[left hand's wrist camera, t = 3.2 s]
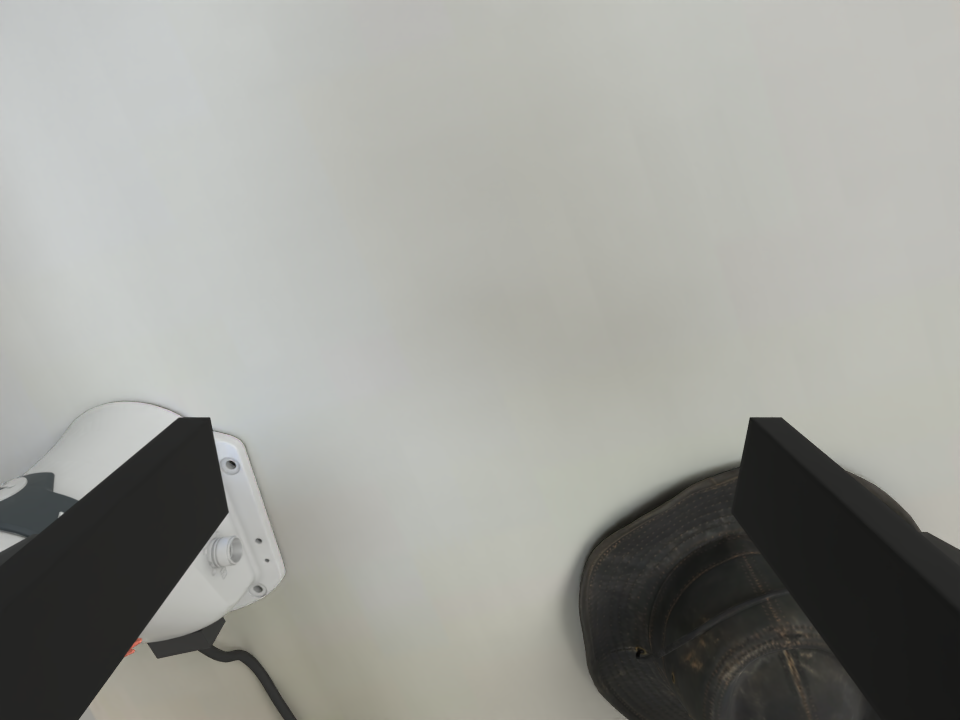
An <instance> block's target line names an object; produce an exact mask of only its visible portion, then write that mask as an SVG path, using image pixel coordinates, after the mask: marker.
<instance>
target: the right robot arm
mask: <svg viewBox="0 0 960 720" xmlns="http://www.w3.org/2000/svg"><path fill="white" fill-rule="evenodd" d="M179 417H182V416H180V415H178V414H176V413H174V412H172V411H170V410H167V409H165V408H162V407H159V406H156V405H152V404H147V403H141V402H131V401H122V402H112V403H107V404H103V405H99V406H97V407H94V408H92V409H90V410H88V411H86V412H84V413H83V414H81V415H80V416H79V417H78V418H76V419H75V420H74V421H73V423H72V424H71V425H70V426H69V428H68V429H67V430H66V432H65V434H64V435H63V436H62V437H61V439H60V440H59V441H58V442H57V443H56V444H55V446H54V447H53V448H52V449H51V450H50V451H49V452H48V453H47V454H46V455H45V456H44V457H43V458H42V459H41V460H39V461H38V462H37V463H36V464H35V465H34V466H33V467H32V468H30V469H29V470H28V471H27V472H26V473H25V474H24V475H22V476H21V477H19V478H15V479H13V480H10V481H8V482H6V483H4V484H2V485H1V486H0V552H1V551H3V550H5V549H7V548H9V547H11V546H12V545H14V544H16V543H18V542H20V541H21V540H23V539H25V538H27V537H29V536H31V535H32V534H39V533H41V532H42V531H43V530H44V529H45V528H47V527H48V526H49V525H50V524H51V523H53V522H54V521H55V520H56V519H57V518H59V517H60V516H61V515H62V514H63V513H65V512H66V511H67V510H68V509H69V508H71V507H72V506H73V505H74V504H75V503H77V502H78V501H79V500H80V499H81V498H83V497H84V496H85V495H86V494H87V493H89V492H90V491H91V490H92V489H93V488H95V487H96V486H97V485H98V484H99V483H101V482H102V481H103V480H104V479H105V478H107V477H108V476H109V475H110V474H111V473H113V472H114V471H115V470H116V469H117V468H119V467H120V466H121V465H122V464H123V463H125V462H126V461H127V460H128V459H129V458H131V457H132V456H133V455H134V454H135V453H137V452H138V451H139V450H140V449H141V448H143V447H144V446H145V445H146V444H147V443H149V442H150V441H151V440H152V439H153V438H155V437H156V436H157V435H158V434H159V433H161V432H162V431H163V430H164V429H165V428H167V427H168V426H169V425H170V424H171V423H173V422H174V421H175V420H176V419H177V418H179ZM213 435H214V440H215V445H216V450H217V455H218V460H219V465H220V470H221V475H222V480H223V485H224V490H225V495H226V500H227V505H228V510H229V513H228V514H227V516H226V517H225V519H224V520H223V521H222V523H221V524H220V525H219V527H218V528H217V530H216V531H215V532H214V534H213V535H212V536H211V538H210V539H209V541H208V542H207V543H206V545H205V546H204V547H203V549H202V550H201V552H200V553H199V554H198V556H197V557H196V559H195V560H194V561H193V563H192V564H191V565H190V567H189V568H188V570H187V571H186V572H185V574H184V575H183V576H182V578H181V579H180V581H179V582H178V583H177V585H176V586H175V587H174V589H173V590H172V592H171V593H170V594H169V596H168V597H167V599H166V600H165V601H164V603H163V604H162V605H161V607H160V608H159V610H158V611H157V612H156V614H155V615H154V616H153V618H152V619H151V621H150V622H149V623H148V625H147V626H146V627H145V629H144V630H143V632H142V633H141V634H140V636H139V637H138V638H137V640H136V641H135V643H134V644H133V645H132V647H131V648H133V647H135V646H136V645H138V644H139V643H148V645H149V647H150V648H151V650H152V651H153V653H154V654H155V656H156V657H157V658H163V657H168V656H172V655H177V654H182V653H187V652H191V651H196V650H198V651H200V652H201V653H203V654H204V655H206V656H208V657H210V658H212V659H214V660H217V661H220V662H231V661H235V660H240V661H242V662H243V663H245V664H246V665H247V666H248V667H249V668H250V669H251V670H252V671H253V672H254V673H255V675H256V676H257V677H258V679H259V680H260V682H261V683H262V685H263V687H264V688H265V690H266V692H267V693H268V695H269V697H270V698H271V700H272V702H273V703H274V705H275V706H276V708H277V709H278V711H279V712H280V714H281V715H282V717H283V718H284V720H296V718H295V717H294V715H293V714H292V712H291V711H290V709H289V708H288V706H287V705H286V703H285V702H284V700H283V699H282V697H281V695H280V694H279V692H278V690H277V689H276V687H275V685H274V683H273V682H272V680H271V678H270V677H269V675H268V674H267V672H266V671H265V670H264V668H263V667H262V666H261V664H260V663H259V662H258V661H257V660H256V659H255V658H254V657H253V656H252V655H251V654H249V653H248V652H246V651H243V650H234V651H229V652H225V651H222V650H220V649H218V648H216V647H214V646H213V645H212V644H213V643H214V641H215V639H216V637H217V636H218V634H219V632H220V630H221V628H222V627H223V625H224V623H225V619H224V618H223V616H224V615H226V614H227V613H228V612H231V611H234V610H237V609H240V608H242V607H245V606H248V605H250V604H252V603H254V602H256V601H258V600H260V599H262V598H263V597H265V596H266V595H268V594H269V593H270V592H271V591H273V590H274V589H275V588H276V587H277V585H278V584H279V583H280V582H281V580H282V579H283V577H284V576H285V573H286V571H285V566H284V563H283V560H282V557H281V554H280V551H279V548H278V545H277V542H276V539H275V536H274V533H273V530H272V527H271V524H270V521H269V518H268V515H267V512H266V509H265V506H264V503H263V500H262V497H261V494H260V491H259V487H258V484H257V481H256V478H255V475H254V472H253V469H252V466H251V463H250V460H249V457H248V454H247V451H246V449H245V446H244V444H243V443H242V442H241V441H240V440H239V439H238V438H236V437H234V436H231V435H228V434H224V433H220V432H215V431H213ZM230 461H233V462H235V464H236V465H233V464H231V463H230ZM259 586H261V587H259ZM131 648H130V650H129V651H128V652H127V654H126V655H125V656H127V655H130V654H132V653H134V651H135V650H134V649H131ZM125 656H124V657H125Z"/></svg>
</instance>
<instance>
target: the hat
mask: <svg viewBox="0 0 960 720" xmlns="http://www.w3.org/2000/svg"><path fill="white" fill-rule="evenodd" d="M739 470H740V467H739V468H736V469H733V470H729V471H726V472H723V473H720V474H718V475H715V476H713V477H709V478H706V479H704V480H701V481H699V482H697V483H695V484H692V485H690V486H689V487H688V488H686V489H685V490H683V491H682V492H680V493H679V494H677V495H676V496H675V497H673V498H672V499H670V500H668V501H667V502H665V503H664V504H662V505H660V506H659V507H657V508H656V509H654V510H652V511H650V512H648V513H647V514H645V515H643V516H641V517H640V518H638V519H637V520H635V521H633V522H632V523H630V524H628V525H627V526H625V527H624V528H622V529H620V530H618V531H616V532H614V533H613V534H611V535H610V536H608V537H607V538H606V539H604V540H603V541H602V542H601V543H600V544H599V545H598V546H597V547H596V548H595V549H594V550H593V551H592V553H591V554H590V556H589V558H588V560H587V562H586V564H585V568H584V571H583V575H582V579H581V584H580V595H579V614H580V620H581V626H582V631H583V637H584V644H585V650H586V658H587V666H588V669H589V673H590V675H591V678H592V680H593V682H594V684H595V686H596V688H597V689H598V691H599V692H600V693H601V694H602V696H603V697H604V698H605V699H606V700H607V701H608V702H609V703H610V704H611V705H612V706H613V707H614V708H616V709H617V710H618V711H619V712H620V713H621V714H622V715H624V716H625V717H626V718H627V719H629V720H881V718H880V717H879V716H878V714H877V713H876V712H875V710H874V709H873V707H872V706H871V705H870V703H869V702H868V701H867V699H866V698H865V696H864V695H863V694H862V692H861V691H860V690H859V688H858V687H857V685H856V684H855V683H854V681H853V680H852V678H851V677H850V676H849V674H848V673H847V672H846V670H845V669H844V667H843V666H842V665H841V663H840V662H839V661H838V659H837V658H836V656H835V655H834V654H833V652H832V651H831V650H830V648H829V647H828V645H827V644H826V643H825V641H824V640H823V638H822V637H821V636H820V634H819V633H818V632H817V630H816V629H815V627H814V626H813V625H812V623H811V622H810V621H809V619H808V618H807V616H806V615H805V614H804V612H803V611H802V610H801V608H800V607H799V605H798V604H797V603H796V601H795V600H794V599H793V597H792V596H791V594H790V593H789V592H788V590H787V589H786V587H785V586H784V585H783V583H782V582H781V581H780V579H779V578H778V576H777V575H776V574H775V572H774V571H773V570H772V568H771V567H770V565H769V564H768V563H767V561H766V560H765V559H764V557H763V556H762V554H761V553H760V552H759V550H758V549H757V547H756V546H755V545H754V543H753V542H752V541H751V539H750V538H749V536H748V535H747V534H746V532H745V531H744V530H743V528H742V527H741V525H740V524H739V523H738V521H737V520H736V519H735V517H734V516H733V514H732V513H731V510H732V505H733V500H734V495H735V490H736V485H737V480H738V475H739ZM846 472H847V473H849V474H850V475H851V476H852V477H853V478H855V479H856V480H857V481H858V482H859V483H861V484H862V485H863V486H864V487H865V488H867V489H868V490H869V491H870V492H871V493H873V494H874V495H875V496H876V497H877V498H879V499H880V500H881V501H882V502H883V503H885V504H886V505H887V506H888V507H889V508H891V509H892V510H893V511H894V512H895V513H897V514H898V515H899V516H900V517H901V518H903V519H904V520H905V521H906V522H907V523H909V524H910V525H911V526H912V527H913V528H915V529H916V530H917V531H918V532H921V530H920V529H919V527H918V526H917V525H916V523H915V522H914V520H913V519H912V517H911V516H910V515H909V514H908V513H907V512H906V511H905V510H904V509H903V508H902V507H901V506H900V505H899V504H898V503H897V502H896V501H895V500H894V499H892V498H891V497H890V496H889V495H888V494H886V493H885V492H884V491H883V490H881V489H880V488H878V487H877V486H875V485H874V484H872V483H870V482H868V481H866V480H865V479H863V478H861V477H859V476H856V475H854V474H852V473H850V472H848V471H846Z"/></svg>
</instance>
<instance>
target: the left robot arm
mask: <svg viewBox="0 0 960 720" xmlns="http://www.w3.org/2000/svg"><path fill="white" fill-rule="evenodd" d="M228 513H229V510H228V505H227V500H226V495H225V490H224V485H223V480H222V475H221V470H220V465H219V460H218V455H217V450H216V445H215V440H214V435H213V430H212V425H211V420H210V417H179V418H177V419H176V420H175V421H174V422H173V423H171V424H170V425H169V426H168V427H167V428H165V429H164V430H163V431H162V432H161V433H159V434H158V435H157V436H156V437H155V438H153V439H152V440H151V441H150V442H149V443H147V444H146V445H145V446H144V447H143V448H141V449H140V450H139V451H138V452H137V453H135V454H134V455H133V456H132V457H131V458H129V459H128V460H127V461H126V462H125V463H123V464H122V465H121V466H120V467H119V468H117V469H116V470H115V471H114V472H113V473H111V474H110V475H109V476H108V477H107V478H105V479H104V480H103V481H102V482H101V483H99V484H98V485H97V486H96V487H95V488H93V489H92V490H91V491H90V492H89V493H87V494H86V495H85V496H84V497H83V498H81V499H80V500H79V501H78V502H77V503H75V504H74V505H73V506H72V507H71V508H69V509H68V510H67V511H66V512H65V513H63V514H62V515H61V516H60V517H59V518H57V519H56V520H55V521H54V522H53V523H51V524H50V525H49V526H48V527H47V528H45V529H44V530H43V531H42V532H41V533H39V534H32V535H31V536H29V537H27V538H25V539H23V540H21V541H20V542H18V543H16V544H14V545H12V546H11V547H9V548H7V549H5V550H3V551H1V552H0V720H79V718H80V717H81V716H82V714H83V713H84V712H85V710H86V709H87V707H88V706H89V705H90V703H91V702H92V701H93V699H94V698H95V696H96V695H97V694H98V692H99V691H100V689H101V688H102V687H103V685H104V684H105V683H106V681H107V680H108V678H109V677H110V676H111V674H112V673H113V672H114V670H115V669H116V667H117V666H118V665H119V663H120V662H121V661H122V659H123V658H124V656H125V655H126V654H127V652H128V651H129V650H130V648H131V647H132V645H133V644H134V643H135V641H136V640H137V638H138V637H139V636H140V634H141V633H142V632H143V630H144V629H145V627H146V626H147V625H148V623H149V622H150V621H151V619H152V618H153V616H154V615H155V614H156V612H157V611H158V610H159V608H160V607H161V605H162V604H163V603H164V601H165V600H166V599H167V597H168V596H169V594H170V593H171V592H172V590H173V589H174V587H175V586H176V585H177V583H178V582H179V581H180V579H181V578H182V576H183V575H184V574H185V572H186V571H187V570H188V568H189V567H190V565H191V564H192V563H193V561H194V560H195V559H196V557H197V556H198V554H199V553H200V552H201V550H202V549H203V547H204V546H205V545H206V543H207V542H208V541H209V539H210V538H211V536H212V535H213V534H214V532H215V531H216V530H217V528H218V527H219V525H220V524H221V523H222V521H223V520H224V519H225V517H226V516H227V514H228ZM731 513H732V514H733V516H734V517H735V519H736V520H737V521H738V523H739V524H740V525H741V527H742V528H743V530H744V531H745V532H746V534H747V535H748V536H749V538H750V539H751V541H752V542H753V543H754V545H755V546H756V547H757V549H758V550H759V552H760V553H761V554H762V556H763V557H764V559H765V560H766V561H767V563H768V564H769V565H770V567H771V568H772V570H773V571H774V572H775V574H776V575H777V576H778V578H779V579H780V581H781V582H782V583H783V585H784V586H785V587H786V589H787V590H788V592H789V593H790V594H791V596H792V597H793V599H794V600H795V601H796V603H797V604H798V605H799V607H800V608H801V610H802V611H803V612H804V614H805V615H806V616H807V618H808V619H809V621H810V622H811V623H812V625H813V626H814V627H815V629H816V630H817V632H818V633H819V634H820V636H821V637H822V638H823V640H824V641H825V643H826V644H827V645H828V647H829V648H830V650H831V651H832V652H833V654H834V655H835V656H836V658H837V659H838V661H839V662H840V663H841V665H842V666H843V667H844V669H845V670H846V672H847V673H848V674H849V676H850V677H851V678H852V680H853V681H854V683H855V684H856V685H857V687H858V688H859V690H860V691H861V692H862V694H863V695H864V696H865V698H866V699H867V701H868V702H869V703H870V705H871V706H872V707H873V709H874V710H875V712H876V713H877V714H878V716H879V717H880V718H881V720H960V550H959V549H957V548H955V547H954V546H952V545H950V544H948V543H946V542H944V541H943V540H941V539H939V538H937V537H935V536H933V535H932V534H930V533H928V532H918V531H917V530H916V529H915V528H913V527H912V526H911V525H910V524H909V523H907V522H906V521H905V520H904V519H903V518H901V517H900V516H899V515H898V514H897V513H895V512H894V511H893V510H892V509H891V508H889V507H888V506H887V505H886V504H885V503H883V502H882V501H881V500H880V499H879V498H877V497H876V496H875V495H874V494H873V493H871V492H870V491H869V490H868V489H867V488H865V487H864V486H863V485H862V484H861V483H859V482H858V481H857V480H856V479H855V478H853V477H852V476H851V475H850V474H849V473H847V472H846V471H845V470H844V469H843V468H841V467H840V466H839V465H838V464H837V463H835V462H834V461H833V460H832V459H831V458H829V457H828V456H827V455H826V454H825V453H823V452H822V451H821V450H820V449H819V448H817V447H816V446H815V445H814V444H813V443H811V442H810V441H809V440H808V439H807V438H805V437H804V436H803V435H802V434H801V433H799V432H798V431H797V430H796V429H795V428H793V427H792V426H791V425H790V424H789V423H787V422H786V421H785V420H784V419H783V418H781V417H750V420H749V425H748V430H747V435H746V440H745V445H744V450H743V455H742V460H741V465H740V470H739V475H738V480H737V485H736V490H735V495H734V500H733V505H732V510H731Z"/></svg>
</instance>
